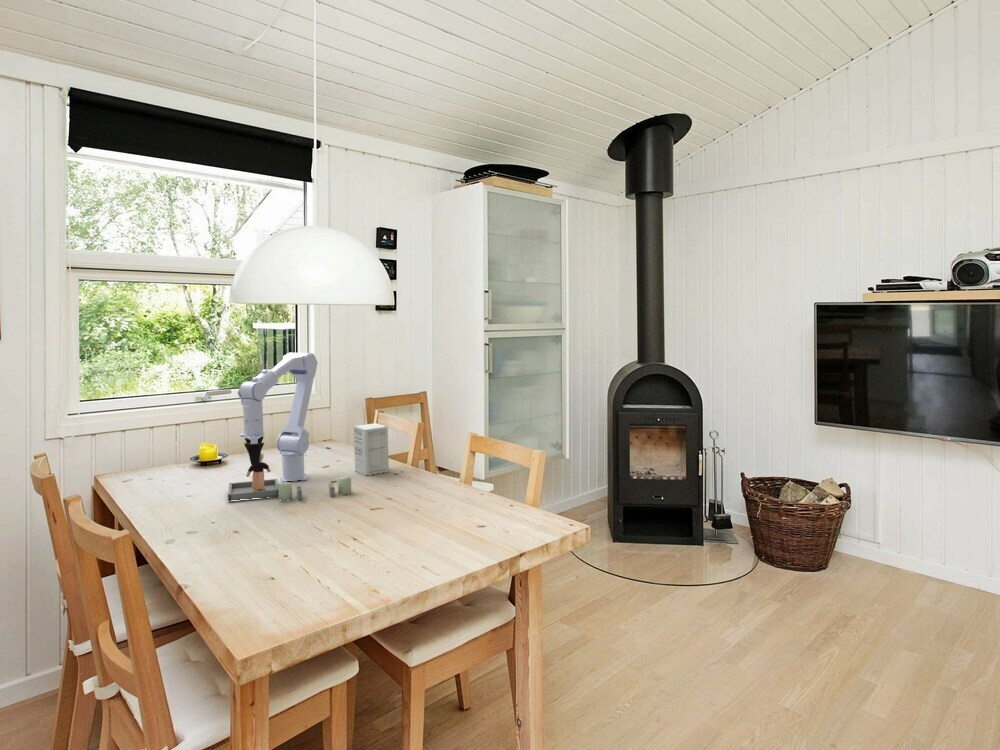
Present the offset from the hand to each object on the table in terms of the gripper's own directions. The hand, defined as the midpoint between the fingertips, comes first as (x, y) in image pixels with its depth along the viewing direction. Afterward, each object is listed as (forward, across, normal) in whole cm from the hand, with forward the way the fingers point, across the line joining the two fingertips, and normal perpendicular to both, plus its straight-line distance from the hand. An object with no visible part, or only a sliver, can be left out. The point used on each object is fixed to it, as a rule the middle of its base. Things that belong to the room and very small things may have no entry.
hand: (255, 461), depth 196 cm
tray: (+10, 0, -1) cm, 10 cm away
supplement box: (+11, -14, +39) cm, 43 cm away
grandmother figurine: (+10, 0, +1) cm, 10 cm away
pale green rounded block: (+10, +10, +8) cm, 17 cm away
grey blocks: (+10, +10, +17) cm, 23 cm away
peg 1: (+10, +10, +26) cm, 30 cm away
